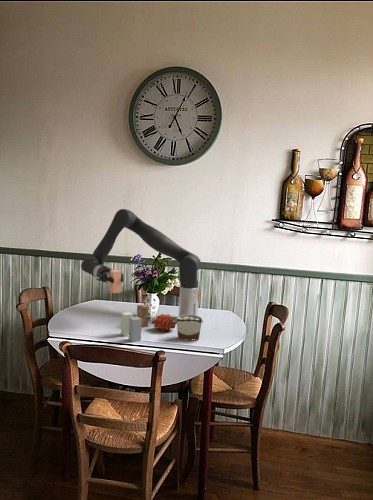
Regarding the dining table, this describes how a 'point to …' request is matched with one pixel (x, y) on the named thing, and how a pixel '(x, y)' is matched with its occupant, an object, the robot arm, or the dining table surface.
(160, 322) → the dragon fruit
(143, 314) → the walnut block
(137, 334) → the slate block
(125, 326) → the sage block
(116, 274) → the terracotta block
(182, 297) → the robot arm
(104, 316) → the dining table surface
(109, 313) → the dining table surface
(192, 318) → the food container
